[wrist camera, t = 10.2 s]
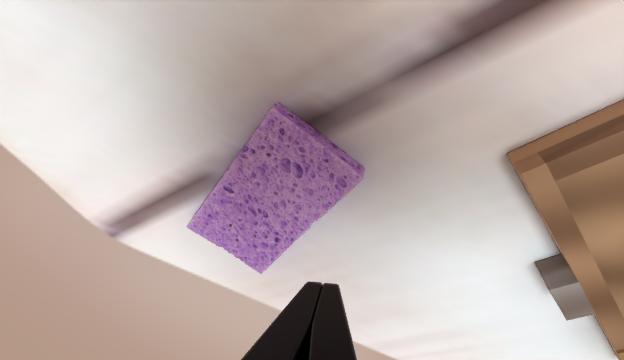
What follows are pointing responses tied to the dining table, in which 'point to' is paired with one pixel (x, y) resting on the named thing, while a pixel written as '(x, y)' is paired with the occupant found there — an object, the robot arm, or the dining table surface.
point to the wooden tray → (582, 215)
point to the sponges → (275, 190)
